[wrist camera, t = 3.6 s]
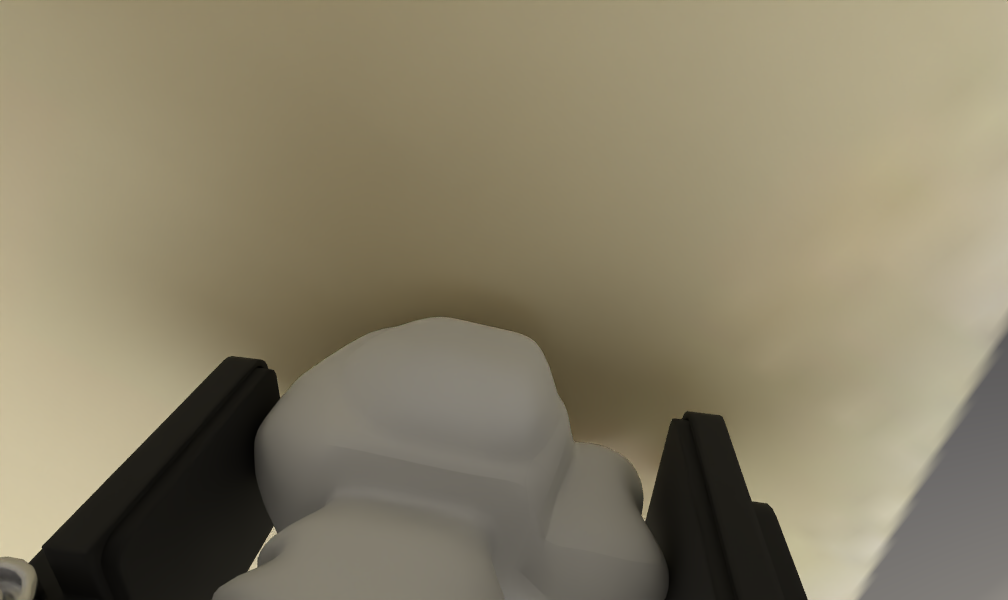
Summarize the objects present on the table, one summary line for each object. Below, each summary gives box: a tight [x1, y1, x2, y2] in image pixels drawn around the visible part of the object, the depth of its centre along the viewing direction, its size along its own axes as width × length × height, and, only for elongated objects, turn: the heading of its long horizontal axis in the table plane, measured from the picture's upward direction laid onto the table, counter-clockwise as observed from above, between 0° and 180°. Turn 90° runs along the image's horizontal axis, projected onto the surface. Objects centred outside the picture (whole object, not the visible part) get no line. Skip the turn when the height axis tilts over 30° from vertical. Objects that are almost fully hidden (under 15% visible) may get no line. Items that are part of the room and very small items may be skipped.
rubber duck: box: [212, 317, 669, 600], centre depth 8 cm, size 5×7×8 cm
